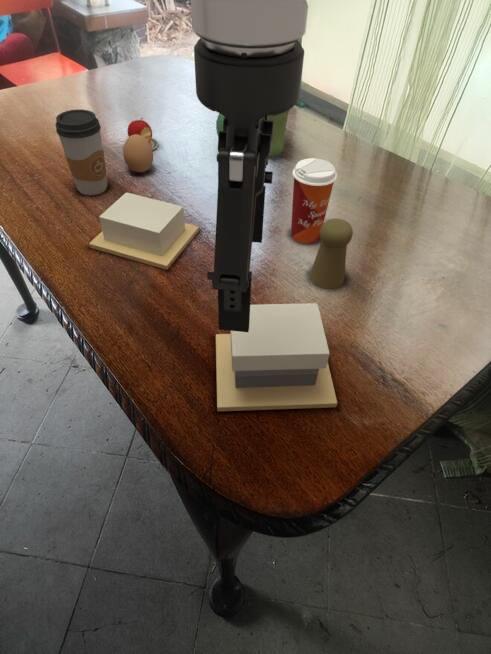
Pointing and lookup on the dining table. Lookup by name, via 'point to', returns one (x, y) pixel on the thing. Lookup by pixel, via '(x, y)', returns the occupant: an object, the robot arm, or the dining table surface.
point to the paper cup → (311, 198)
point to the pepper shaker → (331, 254)
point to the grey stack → (269, 385)
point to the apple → (142, 131)
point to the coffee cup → (83, 150)
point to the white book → (281, 339)
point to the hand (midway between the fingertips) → (242, 279)
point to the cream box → (144, 231)
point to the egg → (138, 153)
